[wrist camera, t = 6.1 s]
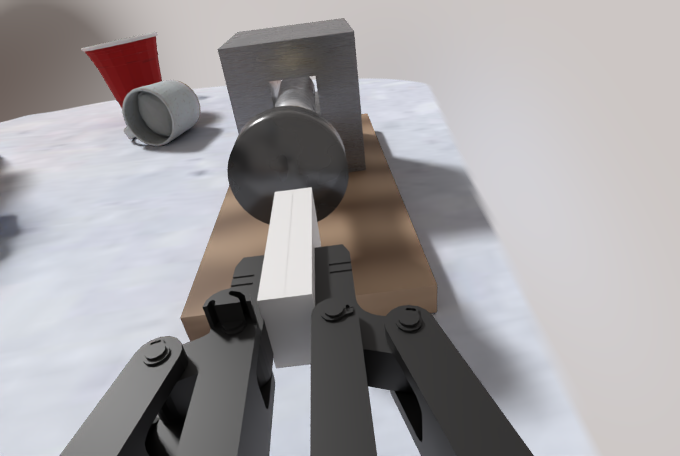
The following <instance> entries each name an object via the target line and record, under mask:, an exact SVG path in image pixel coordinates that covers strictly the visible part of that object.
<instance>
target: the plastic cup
mask: <svg viewBox="0 0 680 456" xmlns="http://www.w3.org/2000/svg"><path fill="white" fill-rule="evenodd" d="M156 35H157V32H153V33H148V34H143V35H138V36H133V37H129V38H124V39H120V40H115V41H111V42H107V43H102V44H98V45H93V46H89V47H85V48H82V49H81V50H82V51H83V52H85V53H86V54H87V55H88V56H89V57H90V59H91V61H93V62H94V64H95V66H96V67H97V68H98V70H99V71H100V73H101V75H102V76H103V78H104V80H105V81H106V83H107V85H108V87H109V88H110V90H111V92H112V93H113V95H114V97H115V98H116V100H117V101H118V102H119V104H120V106H121V108H122V107H123V101H124V99H125V97H126V95H127V94H128V93H129V92H130V91H131V90H133V89H136V88H139V87H143V86H147V85H150V84H154V83H157V82H161V81H162V79H161V73H160V67H159V61H158V52H157V45H156Z"/></svg>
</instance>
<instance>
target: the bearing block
mask: <svg viewBox="0 0 680 456" xmlns="http://www.w3.org/2000/svg"><path fill="white" fill-rule="evenodd" d="M218 52H219V56H220V60H221V64H222V69H223V72H224V77H225V80H226V85H227V89H228V93H229V97H230V101H231V105H232V109H233V113H234V117H235V121H236V125H237V129H238V133H240V132H241V130H242V128H243V127H244V126H245V125H246V123H247V122H248V121H249V120H250V119H252V118H253V117H254V116H256V115H257V114H259V113H261V112H263V111H264V110H267V109H270V108H273V107H275V104H276V100H277V96H278V92H279V88H280V84H281V80H286V79H293V78H301V77H308V76H316V82H317V89H318V92H315V106H316V113H318V114H319V115H321V116H322V117H324V118H325V119H326V120H327V121H328V122H330V123H331V125H332V126H333V127H334V128H335V129H336V131H337V132H338V134H339V136H340V138H341V140H342V142H343V145H344V149H345V154H346V159H347V164H348V171H349V172H355V171H363V170H366V164H365V152H364V141H363V129H362V118H361V106H360V95H359V83H358V72H357V60H356V49H355V37H354V31H353V29H352V28H351V27H350V25H349V24H348V23H347V21H346V20H345V19H344V18H342V19H334V20H327V21H319V22H312V23H304V24H296V25H289V26H282V27H274V28H266V29H259V30H251V31H243V32H237V33H236V34H235V35H234V36H233V37H232V38H230V39H229V40H228V41H227V42H226V43H225V44H223V45H222V46H221V47H220V48H219V49H218Z"/></svg>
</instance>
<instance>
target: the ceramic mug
mask: <svg viewBox="0 0 680 456" xmlns="http://www.w3.org/2000/svg"><path fill="white" fill-rule="evenodd" d="M122 113H123V117H124V120H125V123H126V125H127V127H126V128H125V129H124V132H125V134H126V135H127V137H128V138H129V139H130V140H131V139H134V138H137V139H139V140H140V141H142V142H144V143H145V144H148V145H152V146H162V145H165V144H167V143H169V142H170V141H172V140H173V139H175V138H176V137H178V136H179V135H181V134H182V133H184V132H185V131H187V130H188V129H190V128H191V127H192V126H193V125H194V124H195V123H196V122H197V120H198V118H199V116H200V104H199V101H198V98H197V96H196V94H195V93H194V91H193V90H192V89H191V88H190V87H189V86H187V85H186V84H184V83H182V82H180V81H175V80H166V81H161V82H157V83H154V84H150V85H147V86H143V87H139V88H136V89H133V90H131V91H130V92H129V93H128V94H127V95H126V97H125V99H124V101H123V107H122Z"/></svg>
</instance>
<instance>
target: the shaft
mask: <svg viewBox="0 0 680 456" xmlns="http://www.w3.org/2000/svg"><path fill="white" fill-rule="evenodd" d="M348 178H349V171H348V164H347V159H346V154H345V149H344V145H343V142H342V140H341V138H340V136H339V134H338V132H337V131H336V129H335V128H334V127H333V126H332V125H331V123H330V122H328V121H327V120H326V119H325V118H324V117H322V116H321V115H319V114H318V113H316V106H315V88H314V84H313V82H312V80H311V79H310V77H309V76H308V77H301V78H293V79H286V80H282V81H281V84H280V88H279V92H278V96H277V100H276V104H275V107H273V108H270V109H267V110H264V111H263V112H261V113H259V114H257V115H256V116H254V117H253V118H252V119H250V120H249V121H248V122H247V123H246V125H245V126H244V127H243V128H242V130H241V132H240V133H239V135H238V138H237V140H236V142H235V145H234V147H233V149H232V152H231V154H230V157H229V162H228V180H229V185H230V188H231V190H232V193H233V195H234V197H235V198H236V200H237V201H238V203H239V204H240V205H241V206H242V207H243V209H244V210H245V211H247V212H248V213H249V214H250V215H251V216H253V217H254V218H256V219H258V220H260V221H262V222H264V223H266V224H269V225H270V218H271V212H272V206H273V200H274V194H275V192H278V191H286V190H294V189H302V188H309V187H312V192H313V198H314V204H315V210H316V217H317V222H319V221H320V220H322V219H324V218H325V217H327V216H328V215H329V214H331V213H332V212H333V211H334V210H335V209H336V208H337V206H338V205H339V204H340V202H341V200H342V199H343V197H344V195H345V192H346V189H347V185H348Z"/></svg>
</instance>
